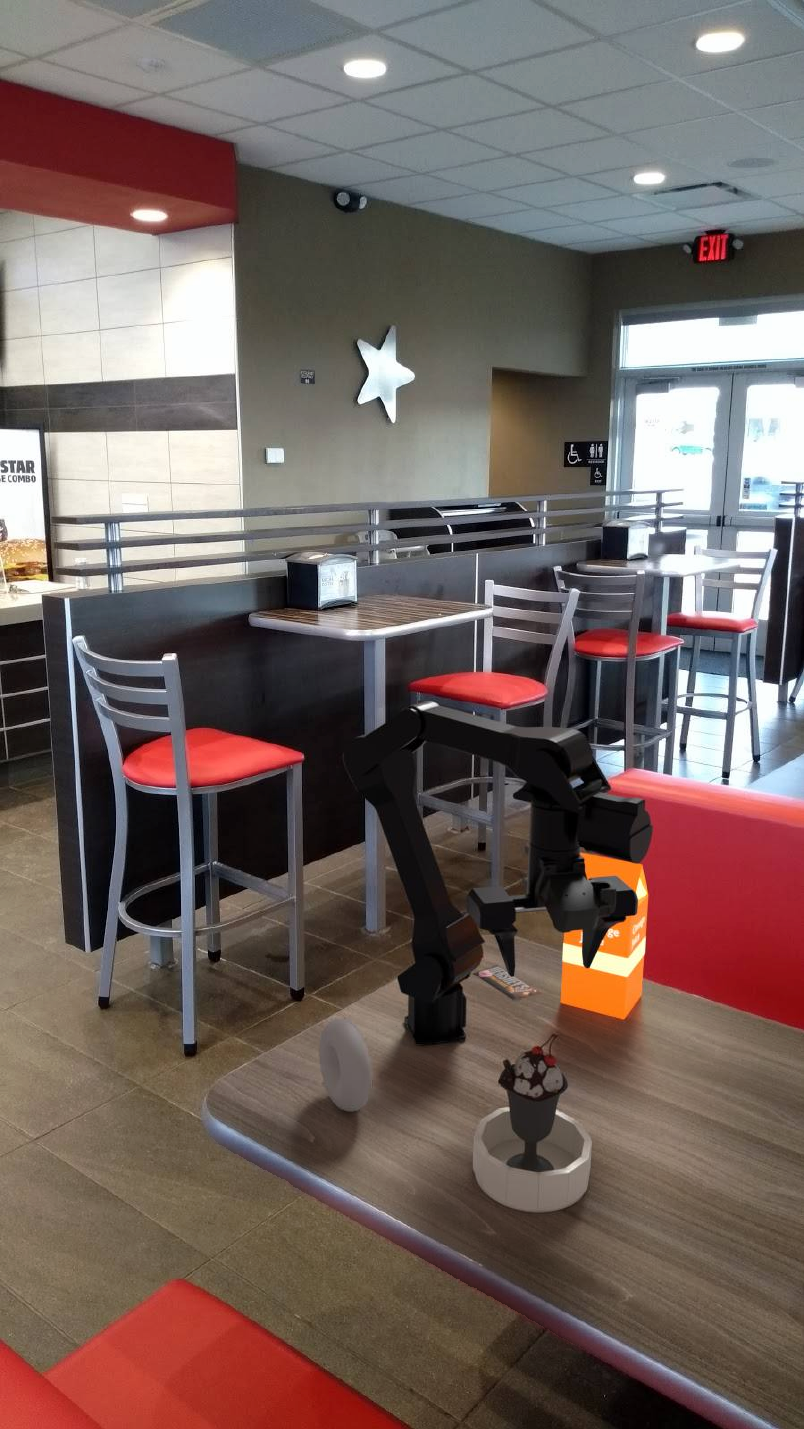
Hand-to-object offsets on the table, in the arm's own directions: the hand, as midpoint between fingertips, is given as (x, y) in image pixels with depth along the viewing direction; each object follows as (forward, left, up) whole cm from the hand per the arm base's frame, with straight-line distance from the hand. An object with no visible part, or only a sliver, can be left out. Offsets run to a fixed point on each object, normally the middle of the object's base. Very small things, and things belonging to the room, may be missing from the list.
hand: (548, 971), depth 123 cm
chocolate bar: (+3, +22, -14) cm, 26 cm away
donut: (-24, -1, -13) cm, 27 cm away
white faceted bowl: (-8, -17, -13) cm, 23 cm away
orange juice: (+14, +15, -13) cm, 24 cm away
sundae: (-8, -17, -13) cm, 23 cm away
